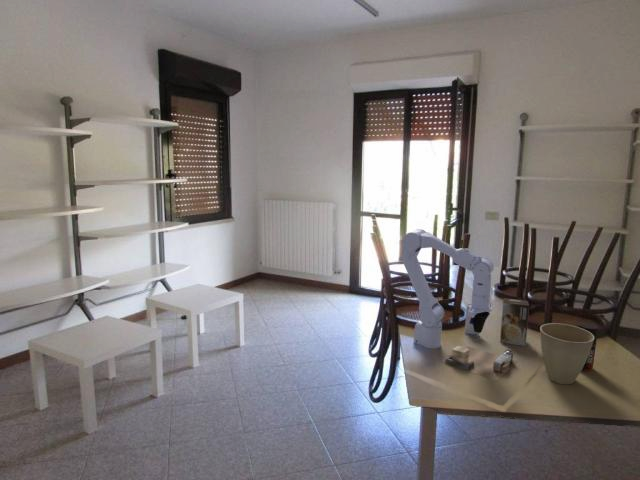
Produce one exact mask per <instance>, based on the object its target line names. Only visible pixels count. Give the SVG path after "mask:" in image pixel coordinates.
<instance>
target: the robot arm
mask: <svg viewBox="0 0 640 480" xmlns="http://www.w3.org/2000/svg"><path fill="white" fill-rule="evenodd" d="M400 243H401V255H400V257H401V260H402V263H403V266H404V267H405V270H406V273H407V275H408V278H409V280H410V283H411V285H412V287H413V291H414V293H415V295H416V297H417V300H418V301H419V305H418V311H419V319H420V320H418V321H417V322H416V323H415V325H414V329H413V330H414V331H413V344H418V345H420V346H422V347H424V348H427V349H439V348H440V347H441V345H442V333H443V332H442V330H443V323H442V319H443V318H444V317H445V309H444V308H443V306H442V305H441V304H440V303H439V301H438V299H437V298H435V297H434V295H433V293H432V291H431V288H430V286H429V283H428V281H427V278H426V276H425V274H424V272H423V269H422V267H421V264H420V262H419V259H418V256H419V254H420V251H421V250H422V249H428V248H431V249H433V250H436V251H438V252H440V253H442V254H443V255H444V254H445V255H446V256H449V257H450V258H452V261H453V263H454V264H456V265H458V266H460V267H462V268H464V269H465V270H466V271H467V270H468V271H469V272H472V274H473V281H472V291H471V292H472V293H471V303H470V304H471V306H470V310H469V311H468V317H471V319H472V322H473V327H474V332H478V333H479V334H481V333H482V331H483V329H484V325H485V324H486V323H485V322H486V321H487V319H488V317H489V316H490V315H491V314H490V312H492V311H493V308H492V302H490V299H491V289H492V287H491V286H492V273H493V271H494V269H495V268H494V263H493V261H492V260H490V259H489V258H487V257H483V256H482V255H476V254H474V253H473V252H470V249H469V248H464V247H461V248H456V247H454V246H453V245H450V244H449V243H447V242H446V241H444V240H442V239H441V238H439V237H437V236H435V235H434V234H433V233H431V232H429V231H425V229H421V228H419V229H418V228H417V229H415V230H413V231H411V232H407V233H406V234H405V235H404V236H403V238H402V240H401V242H400Z"/></svg>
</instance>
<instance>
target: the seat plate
mask: <svg viewBox="0 0 640 480" xmlns="http://www.w3.org/2000/svg"><path fill="white" fill-rule="evenodd" d="M462 347H464V348H467V349H469V359H468V363H467V364H463V363H460V362H457V361H454V360H452V353H451V354H449V355H448V356H447V357H445V358H444V359H442V360H441V362H442V363H444V364H447V365H450V366H453V367H456V368H459V369H461V370H465V371H467V372H470V373H473V374H476V375H479V376H482V377H484V378H487V379H489V380H492V381H496V382H498V381H499V380H500V379H501V378H502V377H503V376H504V375H505V374H507V373H508V371H510V370H511V369H512V368H513V367H514V366H515V365H516V364H517V363H518V361H516V360H514V359H513V362H512V363H508V362H506V363H505V364H504V365H503V366H502V370H501V372H498V371H495V370H493V365H494V361H495V360H496V359H497V358H498V357H499V356H500V355H499V354H498V355H497V354H494V353H491V352H488V351H485V350H481V349H478V348H474V347H471V346H468V345H465V344H464V345H463V346H462Z"/></svg>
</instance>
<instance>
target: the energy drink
mask: <svg viewBox="0 0 640 480" xmlns="http://www.w3.org/2000/svg"><path fill="white" fill-rule="evenodd" d="M470 306H471V303H469V304H467V305H466V310H465V311H466V312H465V325H464V335H466V336H468V337H471V338H476V337H479V335H480V333H478V332H474V327H473V322H472V319H471V317H468V311H469V310H470Z"/></svg>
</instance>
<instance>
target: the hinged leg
mask: <svg viewBox="0 0 640 480" xmlns="http://www.w3.org/2000/svg"><path fill="white" fill-rule="evenodd" d="M498 356H499V357H498V358H497V359H496V360H495V361H494V365H493V370H495V371H498V372H501V370H502V366H503V365H504V364H505V363H506V362H508V363H512V362H513V360H514V351H513V350H510V349H505V350H504V352H503V353H501V354H500V355H498Z"/></svg>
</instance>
